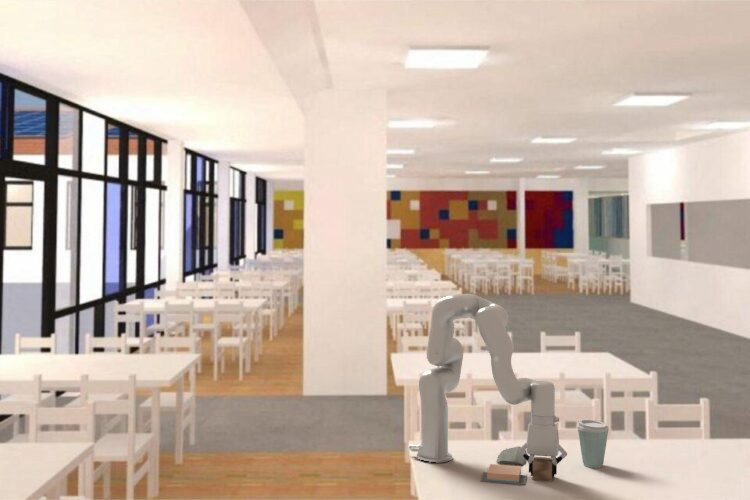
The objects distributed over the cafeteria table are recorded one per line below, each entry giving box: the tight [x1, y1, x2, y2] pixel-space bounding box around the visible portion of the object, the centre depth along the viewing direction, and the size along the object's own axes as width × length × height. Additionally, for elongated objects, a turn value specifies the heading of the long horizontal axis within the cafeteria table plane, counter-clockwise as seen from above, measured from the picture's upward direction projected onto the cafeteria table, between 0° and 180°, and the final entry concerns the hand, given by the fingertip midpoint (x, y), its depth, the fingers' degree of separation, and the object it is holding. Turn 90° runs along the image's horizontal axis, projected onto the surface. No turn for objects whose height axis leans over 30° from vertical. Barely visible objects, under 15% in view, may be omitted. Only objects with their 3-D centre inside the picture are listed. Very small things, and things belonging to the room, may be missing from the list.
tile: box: [486, 463, 522, 483], centre depth 237 cm, size 10×2×10 cm
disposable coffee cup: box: [576, 418, 610, 469], centre depth 251 cm, size 11×11×15 cm
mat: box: [480, 471, 528, 486], centre depth 236 cm, size 14×10×1 cm
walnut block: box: [532, 456, 553, 483], centre depth 237 cm, size 6×6×6 cm
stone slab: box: [496, 445, 527, 467], centre depth 262 cm, size 22×3×10 cm
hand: (542, 475), depth 237 cm, fingers closed on walnut block, 6 cm apart
